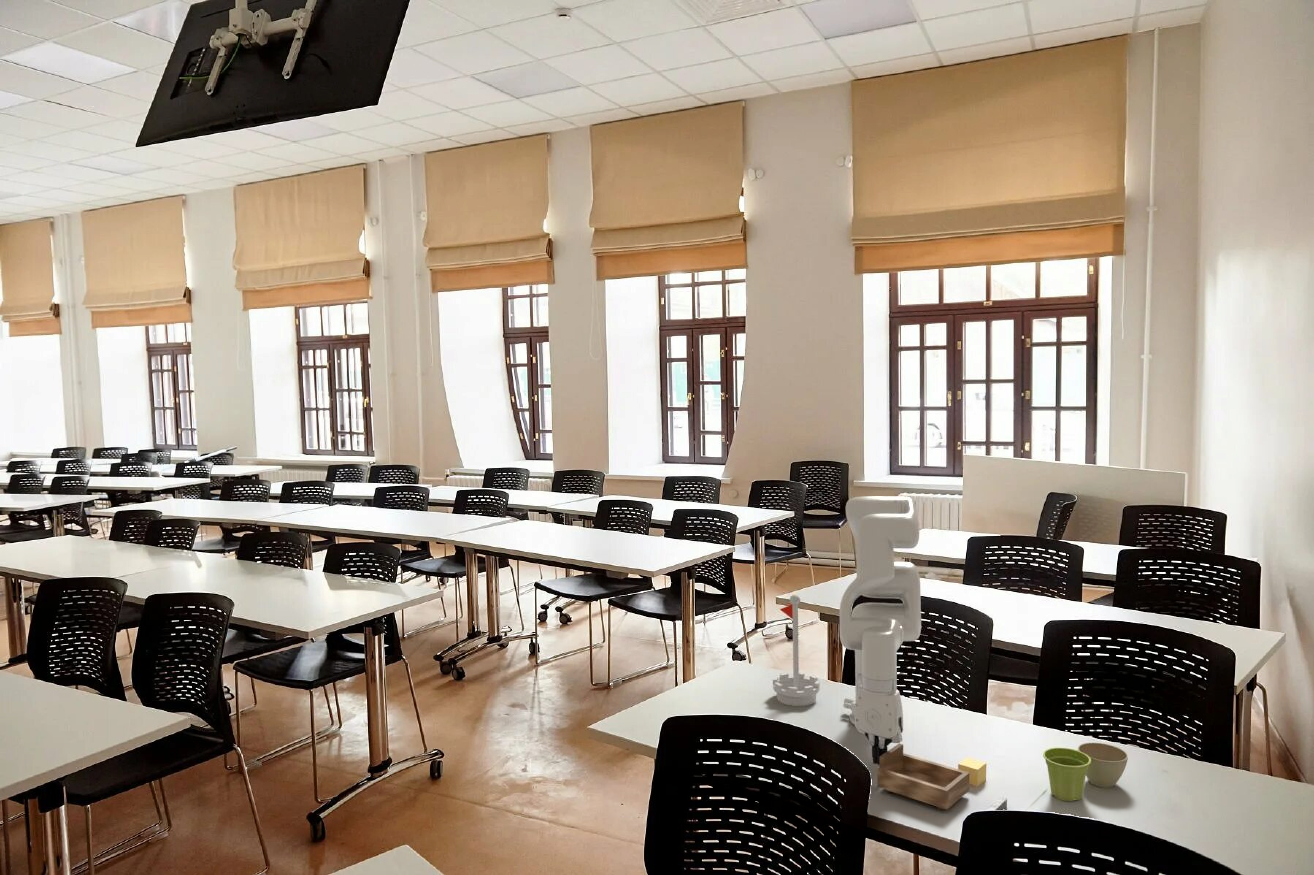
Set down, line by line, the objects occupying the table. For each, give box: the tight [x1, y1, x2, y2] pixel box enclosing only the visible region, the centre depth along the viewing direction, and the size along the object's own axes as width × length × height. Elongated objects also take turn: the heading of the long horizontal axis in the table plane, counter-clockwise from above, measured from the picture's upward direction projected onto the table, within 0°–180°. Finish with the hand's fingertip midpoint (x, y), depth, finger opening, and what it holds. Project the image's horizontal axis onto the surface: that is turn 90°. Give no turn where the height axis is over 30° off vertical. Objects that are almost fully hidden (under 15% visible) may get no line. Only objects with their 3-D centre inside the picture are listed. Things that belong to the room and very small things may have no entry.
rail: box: [987, 797, 1008, 810], centre depth 197 cm, size 28×11×2 cm, turn 47°
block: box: [957, 756, 987, 788], centre depth 205 cm, size 4×4×4 cm
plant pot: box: [1042, 747, 1091, 802], centre depth 198 cm, size 9×9×9 cm
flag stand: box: [772, 593, 821, 707], centre depth 257 cm, size 13×13×30 cm
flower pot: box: [1077, 742, 1129, 789], centre depth 203 cm, size 10×10×7 cm
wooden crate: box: [876, 742, 970, 811], centre depth 199 cm, size 16×11×8 cm
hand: (879, 762), depth 206 cm, fingers closed
